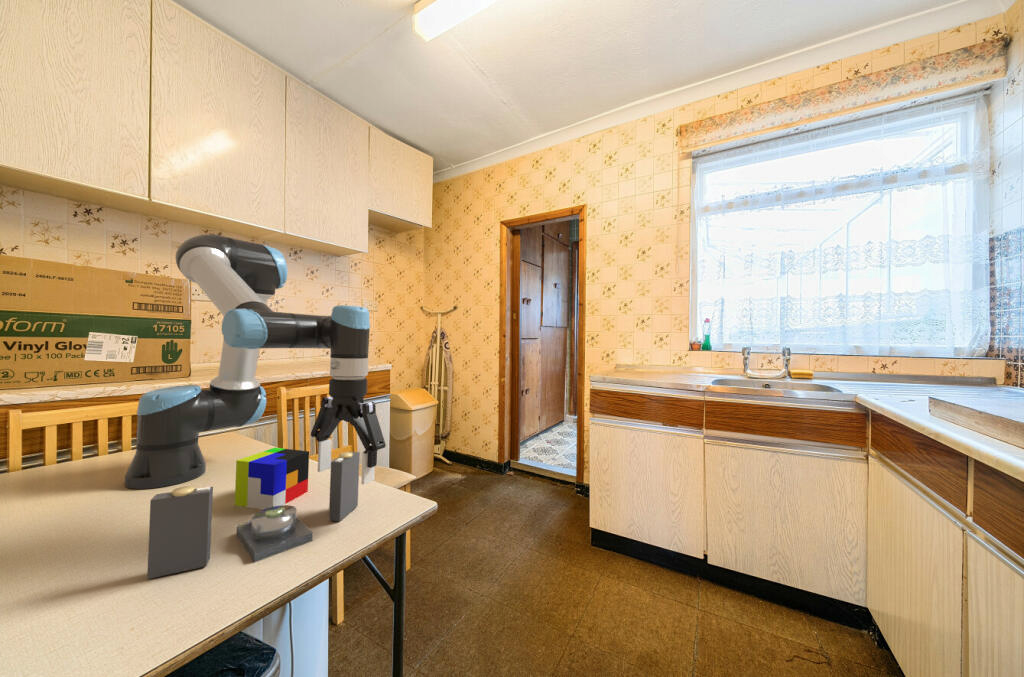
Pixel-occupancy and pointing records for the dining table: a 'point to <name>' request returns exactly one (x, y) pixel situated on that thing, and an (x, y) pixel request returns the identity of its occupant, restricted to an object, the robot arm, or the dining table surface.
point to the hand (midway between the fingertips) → (345, 476)
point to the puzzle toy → (271, 478)
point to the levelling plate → (275, 543)
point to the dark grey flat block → (179, 530)
